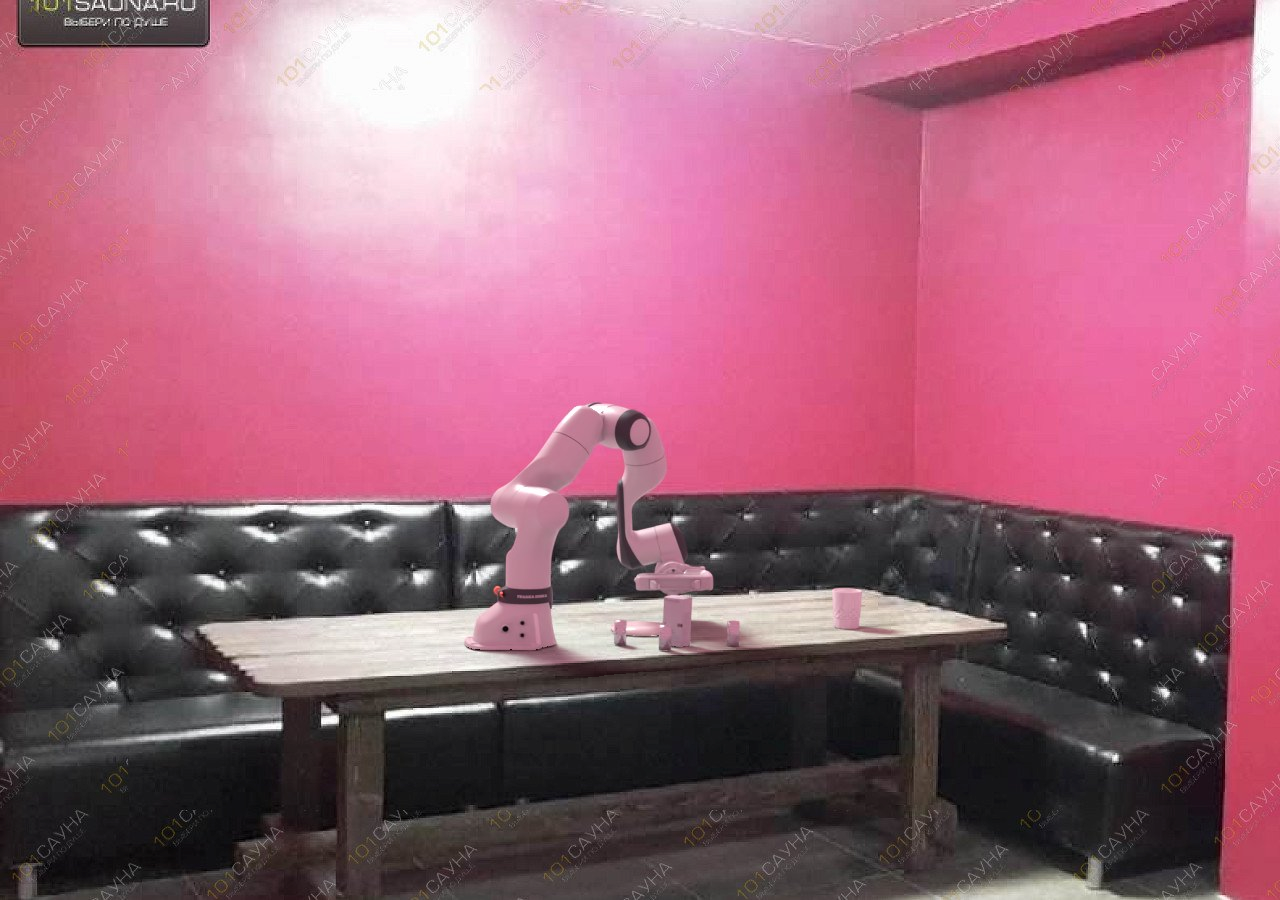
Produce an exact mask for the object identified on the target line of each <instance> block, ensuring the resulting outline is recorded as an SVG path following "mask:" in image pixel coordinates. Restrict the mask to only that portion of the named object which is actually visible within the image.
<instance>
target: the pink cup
mask: <svg viewBox="0 0 1280 900" xmlns="http://www.w3.org/2000/svg"><path fill="white" fill-rule="evenodd" d="M862 596H863V591H862V590H861V589H857V588H849V587H839V588H837V587H836V588H833V589H832V597H831V598H832V616H833V627H834V628H835V627H836V628H835V629H839V628H841V629H842V630H855V629H857V630H858V629H859V628H860V621H861V620H860V617H861V613H862V611H861V610H862V609H861V608H862V600H863V599H862ZM841 629H840V630H841Z"/></svg>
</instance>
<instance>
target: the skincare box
mask: <svg viewBox="0 0 1280 900" xmlns="http://www.w3.org/2000/svg"><path fill="white" fill-rule="evenodd" d="M692 609H693V597H692V596H691V597H689V596H684V595H665V596H664V597H663V612H662V613H663V614H662V623H663V624H667V625H671V647H674V646H676V647H675V648H684V647H683V646H686V647H688V646H687V645H689V646H690V645H691V633H692V631H691V630H692V615H693V614H692V611H693V610H692Z"/></svg>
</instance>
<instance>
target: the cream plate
mask: <svg viewBox="0 0 1280 900" xmlns="http://www.w3.org/2000/svg"><path fill="white" fill-rule="evenodd" d="M662 624H663V622H659V621H650V620H649V621H645V620H643V621H642V620H632V621H631V620H630V621H627V626H626V635H635V636H651V635H659V625H662ZM611 631H612V632H614V623H613V624H611V625H610V632H611ZM612 632H611V633H612Z"/></svg>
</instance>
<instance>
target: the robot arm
mask: <svg viewBox="0 0 1280 900" xmlns="http://www.w3.org/2000/svg"><path fill="white" fill-rule="evenodd" d="M597 445H600V446H603V447H604V448H605V447H606V448H608V449H615V450H621V451H622V452H621V453H622V457H623V462H624V471H623V474H622V477H621V478H620V479H619V480H618V481H617V482H616V483H617V484H616V501H615V502H616V520H617V521H616V522H617V525H616V526H617V542H616V554H617V558H618V560H619V562H620V564H621V565H622V566H624V567H625V568H628V569H629V570H636V569H640V568H643V567H644V566H648V565H651V564H652V565H653V564H656V566H655V568H654V572H644V573H643V572H642V573H641V572H640V573H638V574H637V575H636V577H634V579H633V581H634V582H635V589H636V590H637V591H660V592H662V593H663V594H665V595H666V596H670V595H678V596H680V595H681V594H687V593H692V592H703V591H712V590H713V589H714V576H713V574H712V573H711V571H709V570H706V567H705V566H704V565H703V566H702V565H696V564H695V565H694V564H687V563H685V562H686V561H687V559H688V555H689V554H688V553H689V552H688V547H687V543H686V540H685V537H684V534H683V532H682V531H681V529H680V528H679V527H678V526H677V525H675V524H674V523H672V522H668V523H663V524H660V525H655V526H652V527H647V528H643V529H638V530H633V516H632V515H633V512H632V511H633V506H634V505H635V503H636V502H637V501H639V499H641V497H643V496H645V495H646V494H648V493H650V492H651V491H653V490H654V489H656V488H657V487H658V486H659V485H660V484H661V483H662V482H663V480H664V479H665V477H666V475H667V472H668V466H667V465H668V463H667V462H668V461H667V457H666V451H665V448H664V444H663V441H662V437H661V435H660V433H659V430H658V428H657V426H656V423H655V422H654V420H653V419H652V418H649V417H647V416H646V415H645V414H644V413H643V412H641V411H639V410H636V409H633V408H632V409H630V408H627V407H623V406H620V405H618V404H613V403H602V402H590V403H586V404H585V405H577V406H575V407H574V408H572V409H571V410H570V411H569V412H568V413H567V414H566V415H565V416H564V417H563V418H562V419H561V421H560V422H559V423H558V425H557V426H556V427H555V428H554V430H553V431H552V433H551V434H550V436H549V437H548V438H547V440H546V441H545V443H544V445H543V446H542V447H541V449H540V450H539V452H538V453H537V454H536V456H535V457H534V458H533V460H532V461H530V463H529V464H528V465H527V466H526V467H525V468H523V469H522V471H521V472H520V471H519V473H518V474H517V475H516V476H514V478H513V479H512V480H511V481H509V482H508V483H506V484H505V485H503V486H501V487H499V488H497V490H496V491H494V493H493V495H492V497H491V499H490V511H491V514H492V516H493V517H494V518H495V520H497V522H499V523H501V524H502V525H504V526H506V527H508V528H511V529H512V528H513V529H516V531H517V532H516V536H515V540H514V543H513V545H512V547H511V548H510V550H508V552H507V553H506V557H505V585H504V586H502V587H500V586H498V585H497V586H495V587H494V588H493V593H494V594H495V595H496V598H497V601H496V603H494V604H493V605H492V606H490V607H489V608H487V610H485V611H483V613H481V614H480V615H479V616H477V618H476V620H475V623H474V628H473V635H469V636H466V637H465V638H464V642H463V643H465V644H464V645H465V647H466V648H468V647H469V649H471V648H472V650H475V649H480V650H479V651H537V650H536V649H538V650H540V649H543V648H548V647H551V646H554V645H556V644H557V639H556V637H555V632H554V626H553V620H552V619H553V618H552V607H553V605H554V604H553V602H554V601H553V597H554V595H553V586H552V585H551V583H552V582H551V581H552V578H551V577H552V576H551V575H552V574H551V572H552V571H551V570H552V558H553V557H552V556H553V552H554V551H553V550H554V546H555V543H556V539H557V536H558V534H559V533H560V531H561V529H562V528H563V527H564V526H565V525H566V523H567V521H568V520H569V516H570V506H569V503H568V500H567V499H566V498H565V497H564V496H563V495H562V494H561V493H559V492H560V491H561V490H563V489H564V488H566V487H568V486H569V485H571V484H572V483H573V482H574V481H575V479H576V477H577V476H578V475H579V474H580V472H581V470H582V469H583V467H584V466H585V465H586V463H587V461H588V459H589V458H590V456H591V455H592V453H593V451H594V449H595V447H596V446H597ZM547 646H548V647H547ZM542 647H543V648H542ZM510 649H512V650H510Z"/></svg>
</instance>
